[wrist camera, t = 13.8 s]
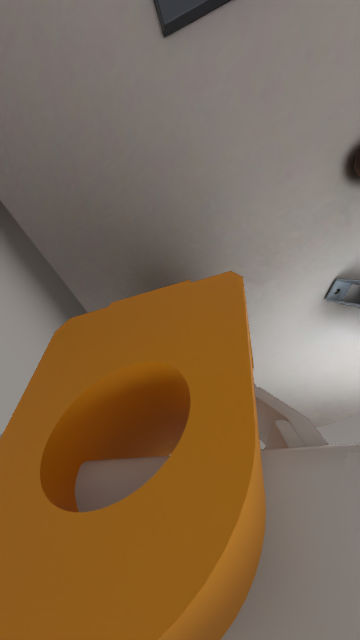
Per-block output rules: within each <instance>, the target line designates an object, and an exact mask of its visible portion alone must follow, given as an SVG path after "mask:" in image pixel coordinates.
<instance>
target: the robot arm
mask: <svg viewBox="0 0 360 640" xmlns="http://www.w3.org/2000/svg"><path fill="white" fill-rule="evenodd" d="M254 388H255V398H256V409H257V419H258V429H259V439H260V440H261V441H262V442H263V443H264V444H265V445H266V446H265V449H260V450H261V460H262V470H263V481H264V489H265V502H266V520H265V534H264V540H263V546H262V553H261V557H260V560H259V564H258V568H257V571H256V575H255V578H254V580H253V583H252V585H251V588H250V590H249V593H248V595H247V598H246V600H245V602H244V603H243V605H242V607H241V609H240V611H239V613H238V615H237V617H236V618H235V620H234V622H233V623H232V624H231V626H230V627H229V629H228V630H227V631H226V633H225V634H224V636H223V637H222V639H221V640H360V443H353V444H339V445H329V444H328V443H327V442H326V440H325V439H324V438H323V437H322V435H321V434H320V433H319V431H318V430H317V429H316V428H315V426H314V425H313V424H312V423H311V421H310V420H309V419H308V418H307V417H305V416H304V415H302V414H301V413H299V412H298V411H296V410H294V409H293V408H291V407H290V406H288V405H287V404H285V403H284V402H282V401H280V400H279V399H277V398H276V397H274V396H273V395H271V394H269V393H268V392H266V391H265V390H263V389H262V388H260V387H256V385H255V383H254ZM3 433H4V432H3ZM2 435H3V434H2ZM2 435H1V436H0V439H1V437H2ZM169 457H170V456H154V457H138V458H122V459H107V460H91V461H85V462H84V463H83V464H82V465H81V466H80V469H79V471H78V475H77V478H76V484H75V498H76V504H77V507H78V510H79V512H89V511H95V510H98V509H102V508H105V507H108V506H110V505H112V504H114V503H116V502H119V501H120V500H122V499H124V498H126V497H127V496H129V495H131V494H132V493H133V492H135V491H136V490H137V489H139V488H140V487H141V486H143V485H144V484H145V483H146V482H147V481H148V480H149V479H151V478H152V477H153V476H154V475H155V474H156V472H157V471H158V470H159V469H160V468H161V467H162V466H163V465H164V463H165V462H166V461H167V460H168V458H169Z"/></svg>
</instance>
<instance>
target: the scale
mask: <svg viewBox="0 0 360 640" xmlns="http://www.w3.org/2000/svg"><path fill="white" fill-rule="evenodd" d="M228 1H230V0H154V2H155V6H156V10H157V13H158V17H159V21H160V24H161V28H162V31H163V35H164V37H165V36H167V35H169V34H171V33H172V32H174V31H176V30H178V29H180V28H181V27H183V26H185V25H187V24H189V23H190V22H192V21H194V20H196V19H197V18H199V17H201V16H203V15H205V14H206V13H208V12H210V11H212V10H214V9H215V8H217V7H219V6H221V5H222V4H224V3H226V2H228Z"/></svg>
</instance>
